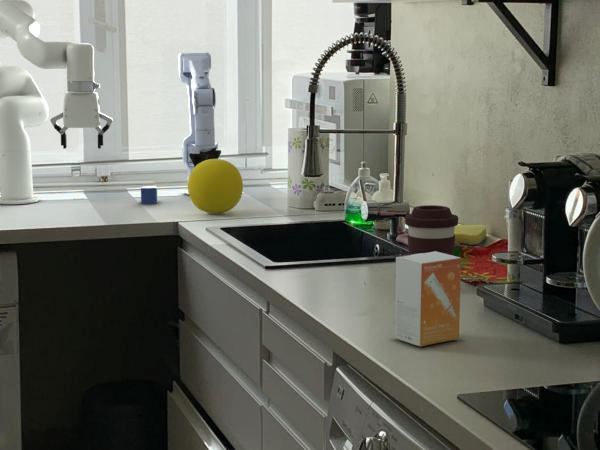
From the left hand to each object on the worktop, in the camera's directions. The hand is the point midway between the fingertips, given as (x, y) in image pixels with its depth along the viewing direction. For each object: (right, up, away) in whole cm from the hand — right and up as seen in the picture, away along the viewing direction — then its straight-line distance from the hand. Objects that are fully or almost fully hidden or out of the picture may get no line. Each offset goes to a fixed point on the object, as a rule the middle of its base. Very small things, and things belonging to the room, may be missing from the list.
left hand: (82, 148), depth 297 cm
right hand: (+34, -7, +12) cm, 37 cm away
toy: (+39, -19, -9) cm, 44 cm away
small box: (+82, -40, -135) cm, 163 cm away
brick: (+17, -15, +13) cm, 27 cm away
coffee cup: (+87, -34, -99) cm, 136 cm away
